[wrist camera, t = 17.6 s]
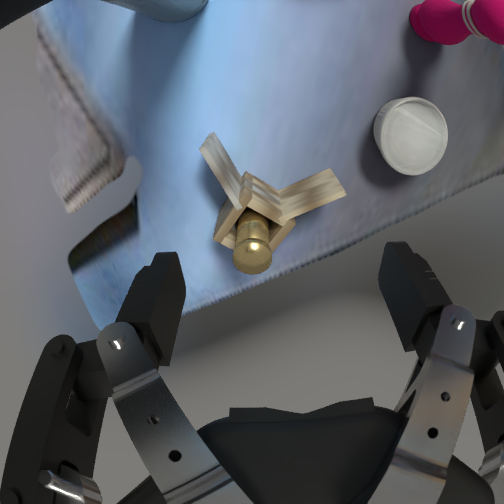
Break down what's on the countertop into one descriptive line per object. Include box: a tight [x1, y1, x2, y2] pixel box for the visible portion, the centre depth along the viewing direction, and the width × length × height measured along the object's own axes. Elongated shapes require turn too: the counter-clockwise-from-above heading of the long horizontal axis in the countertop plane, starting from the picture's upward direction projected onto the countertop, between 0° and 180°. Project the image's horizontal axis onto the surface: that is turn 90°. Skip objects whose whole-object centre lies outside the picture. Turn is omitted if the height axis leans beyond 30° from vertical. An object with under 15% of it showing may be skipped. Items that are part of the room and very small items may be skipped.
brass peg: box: [233, 206, 272, 274], centre depth 39 cm, size 4×4×14 cm
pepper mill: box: [410, 0, 504, 45], centre depth 18 cm, size 7×7×20 cm
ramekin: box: [373, 97, 448, 175], centre depth 35 cm, size 11×11×5 cm
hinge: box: [199, 132, 346, 253], centre depth 39 cm, size 18×15×8 cm
